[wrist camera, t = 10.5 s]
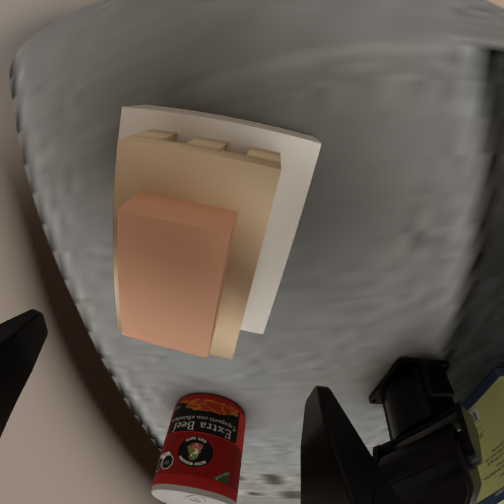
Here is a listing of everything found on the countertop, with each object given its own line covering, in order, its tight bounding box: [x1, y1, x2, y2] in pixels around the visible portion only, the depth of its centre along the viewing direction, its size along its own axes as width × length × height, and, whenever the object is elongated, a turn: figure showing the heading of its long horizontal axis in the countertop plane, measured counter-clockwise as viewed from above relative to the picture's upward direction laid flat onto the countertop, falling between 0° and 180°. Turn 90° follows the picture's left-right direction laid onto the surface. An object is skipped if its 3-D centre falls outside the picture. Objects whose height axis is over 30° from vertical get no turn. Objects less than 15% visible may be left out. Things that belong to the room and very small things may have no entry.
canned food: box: [151, 394, 245, 504], centre depth 25 cm, size 8×8×11 cm
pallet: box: [113, 129, 281, 360], centre depth 15 cm, size 10×6×4 cm, turn 168°
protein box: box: [457, 368, 504, 504], centre depth 21 cm, size 10×16×16 cm
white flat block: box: [114, 104, 321, 334], centre depth 18 cm, size 12×10×3 cm
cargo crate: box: [117, 192, 238, 358], centre depth 12 cm, size 6×4×2 cm, turn 168°
